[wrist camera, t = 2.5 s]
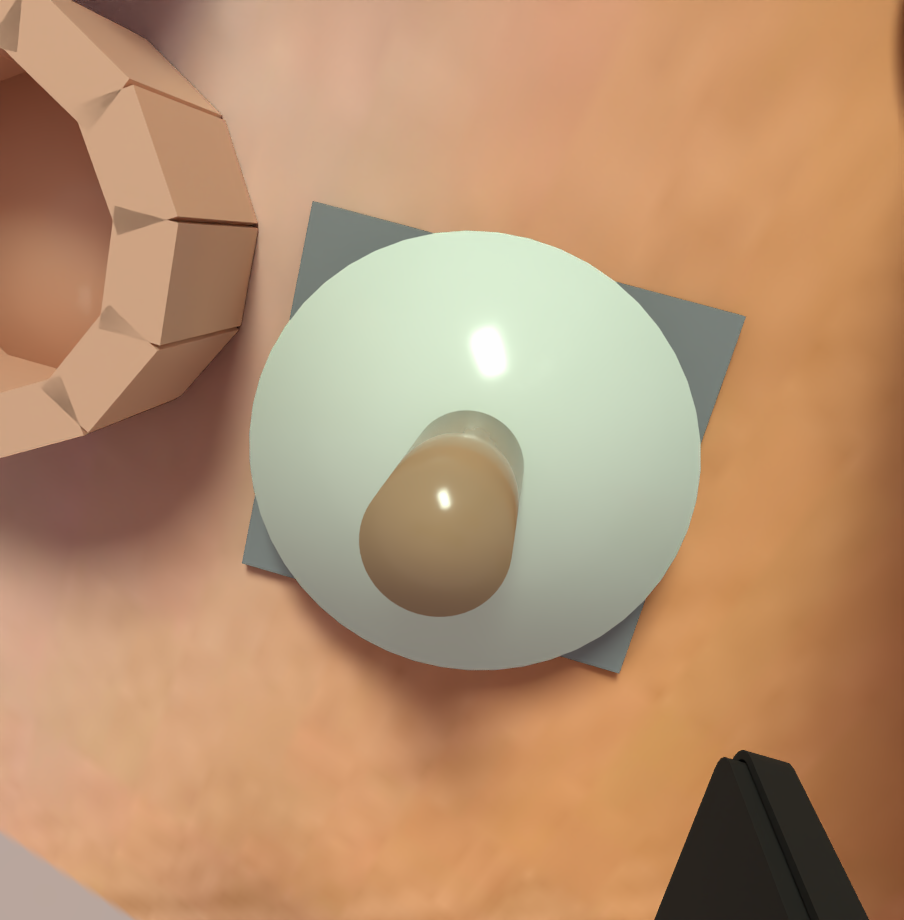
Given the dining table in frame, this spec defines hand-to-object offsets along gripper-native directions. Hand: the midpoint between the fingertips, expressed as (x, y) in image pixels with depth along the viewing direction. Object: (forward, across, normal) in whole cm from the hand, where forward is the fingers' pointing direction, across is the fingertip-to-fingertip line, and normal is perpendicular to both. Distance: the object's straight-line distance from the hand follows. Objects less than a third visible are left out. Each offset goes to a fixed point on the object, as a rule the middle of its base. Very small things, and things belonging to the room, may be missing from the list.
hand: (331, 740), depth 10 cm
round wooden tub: (+14, +12, -4) cm, 19 cm away
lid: (+14, 0, -1) cm, 14 cm away
